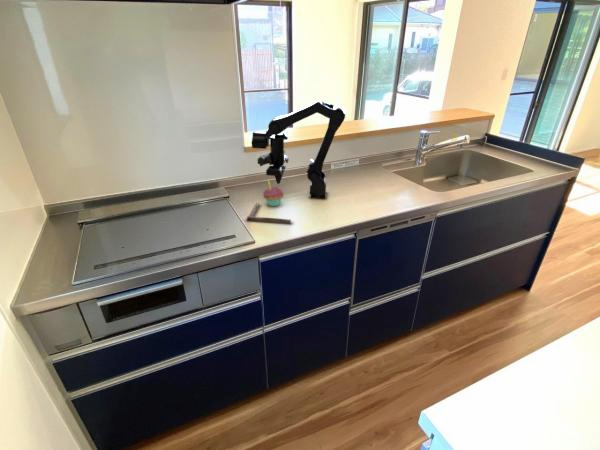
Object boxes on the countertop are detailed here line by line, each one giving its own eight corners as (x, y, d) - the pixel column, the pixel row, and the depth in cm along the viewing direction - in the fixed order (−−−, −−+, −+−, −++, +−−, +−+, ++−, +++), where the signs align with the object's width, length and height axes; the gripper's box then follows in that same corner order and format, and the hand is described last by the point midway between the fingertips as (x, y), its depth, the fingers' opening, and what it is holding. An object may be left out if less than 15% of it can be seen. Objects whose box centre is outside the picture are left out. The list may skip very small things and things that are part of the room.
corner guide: (295, 208, 142) (295, 205, 142) (290, 224, 131) (290, 220, 130) (255, 205, 144) (255, 202, 144) (247, 220, 133) (246, 217, 133)
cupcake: (268, 210, 141) (266, 182, 135) (260, 201, 148) (258, 175, 142) (287, 205, 145) (286, 179, 139) (278, 197, 151) (277, 172, 145)
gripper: (263, 141, 154) (265, 174, 162) (252, 155, 138) (255, 190, 146) (288, 142, 152) (289, 175, 160) (280, 156, 136) (281, 192, 144)
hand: (278, 183), depth 153 cm, fingers closed
